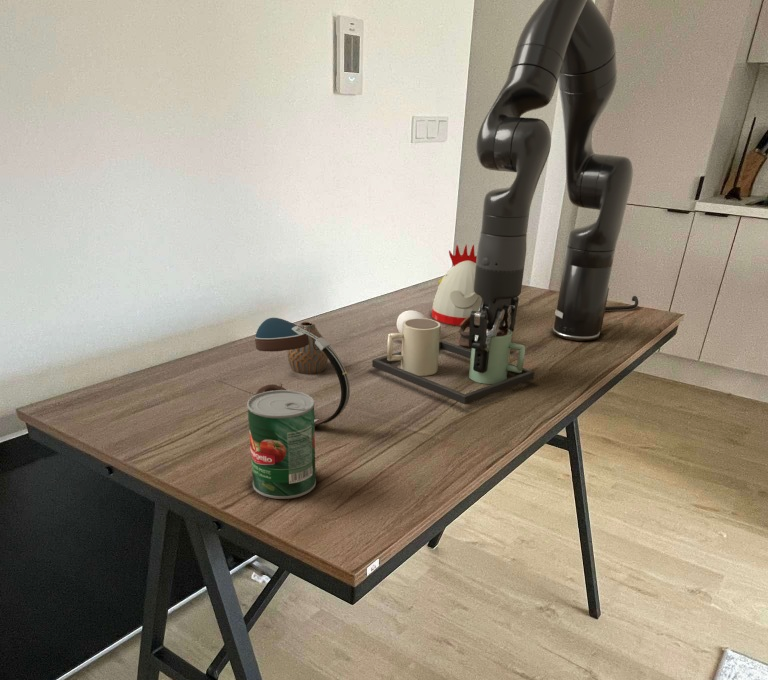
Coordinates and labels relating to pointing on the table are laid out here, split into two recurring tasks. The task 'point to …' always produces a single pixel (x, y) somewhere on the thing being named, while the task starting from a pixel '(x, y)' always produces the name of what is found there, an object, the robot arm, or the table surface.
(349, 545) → the table surface
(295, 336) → the headphones
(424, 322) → the cream cup
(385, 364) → the tray
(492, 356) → the green cup
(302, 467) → the canned tomato
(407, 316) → the stress ball
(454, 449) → the table surface
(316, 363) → the vase
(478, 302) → the kitchen timer
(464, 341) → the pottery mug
